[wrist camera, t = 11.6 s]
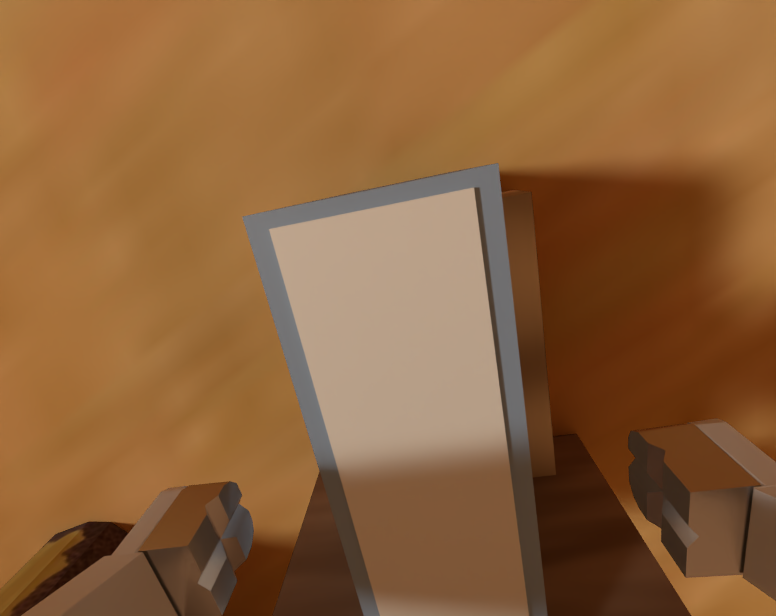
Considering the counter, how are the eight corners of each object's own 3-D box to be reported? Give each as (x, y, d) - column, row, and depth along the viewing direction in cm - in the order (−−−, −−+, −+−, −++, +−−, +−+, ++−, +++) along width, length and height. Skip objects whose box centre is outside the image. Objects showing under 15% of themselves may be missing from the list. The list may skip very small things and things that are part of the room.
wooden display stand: (254, 241, 17) (-287, 453, 4) (560, 180, 16) (1373, 191, 2) (328, 487, 21) (183, 1004, 8) (578, 459, 20) (918, 1046, 6)
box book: (342, 194, 16) (240, 217, 7) (448, 172, 16) (499, 163, 6) (399, 451, 20) (386, 694, 11) (487, 440, 20) (556, 687, 10)
